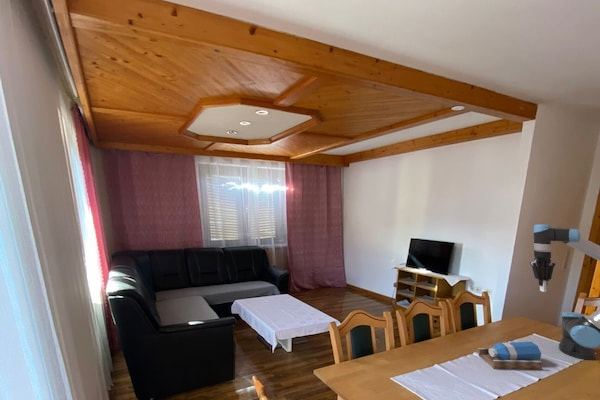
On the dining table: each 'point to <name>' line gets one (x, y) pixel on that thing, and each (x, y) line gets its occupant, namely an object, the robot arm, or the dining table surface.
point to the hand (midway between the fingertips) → (543, 291)
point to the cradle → (508, 362)
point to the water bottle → (516, 351)
